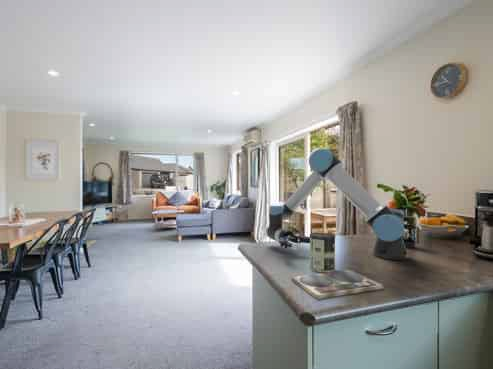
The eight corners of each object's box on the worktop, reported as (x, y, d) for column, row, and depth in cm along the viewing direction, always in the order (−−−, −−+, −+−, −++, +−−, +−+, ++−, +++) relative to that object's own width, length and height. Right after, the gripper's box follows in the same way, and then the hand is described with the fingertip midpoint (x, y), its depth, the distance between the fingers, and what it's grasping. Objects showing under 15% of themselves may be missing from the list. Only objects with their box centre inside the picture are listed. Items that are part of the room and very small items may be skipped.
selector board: (350, 272, 104) (350, 269, 104) (382, 288, 88) (382, 284, 88) (291, 280, 95) (291, 276, 95) (316, 299, 80) (317, 294, 80)
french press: (392, 245, 150) (392, 205, 150) (400, 243, 155) (400, 204, 155) (414, 249, 140) (414, 207, 140) (422, 247, 145) (422, 206, 145)
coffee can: (333, 265, 113) (333, 233, 113) (336, 273, 103) (337, 237, 103) (308, 263, 115) (309, 231, 115) (309, 271, 105) (310, 236, 105)
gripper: (304, 241, 141) (331, 251, 122) (263, 245, 132) (285, 257, 112) (304, 228, 141) (331, 235, 122) (263, 231, 132) (285, 239, 112)
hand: (309, 245), depth 117 cm, fingers open, 13 cm apart
